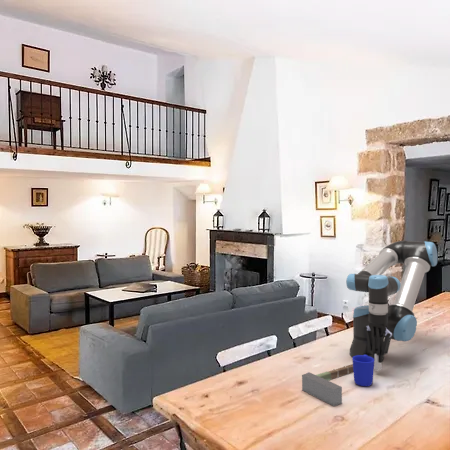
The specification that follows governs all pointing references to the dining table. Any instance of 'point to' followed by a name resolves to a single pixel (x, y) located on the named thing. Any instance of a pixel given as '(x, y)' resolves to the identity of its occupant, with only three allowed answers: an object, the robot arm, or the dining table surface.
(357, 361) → the mug
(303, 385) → the grooved grey block
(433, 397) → the dining table surface
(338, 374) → the brown and green stick
